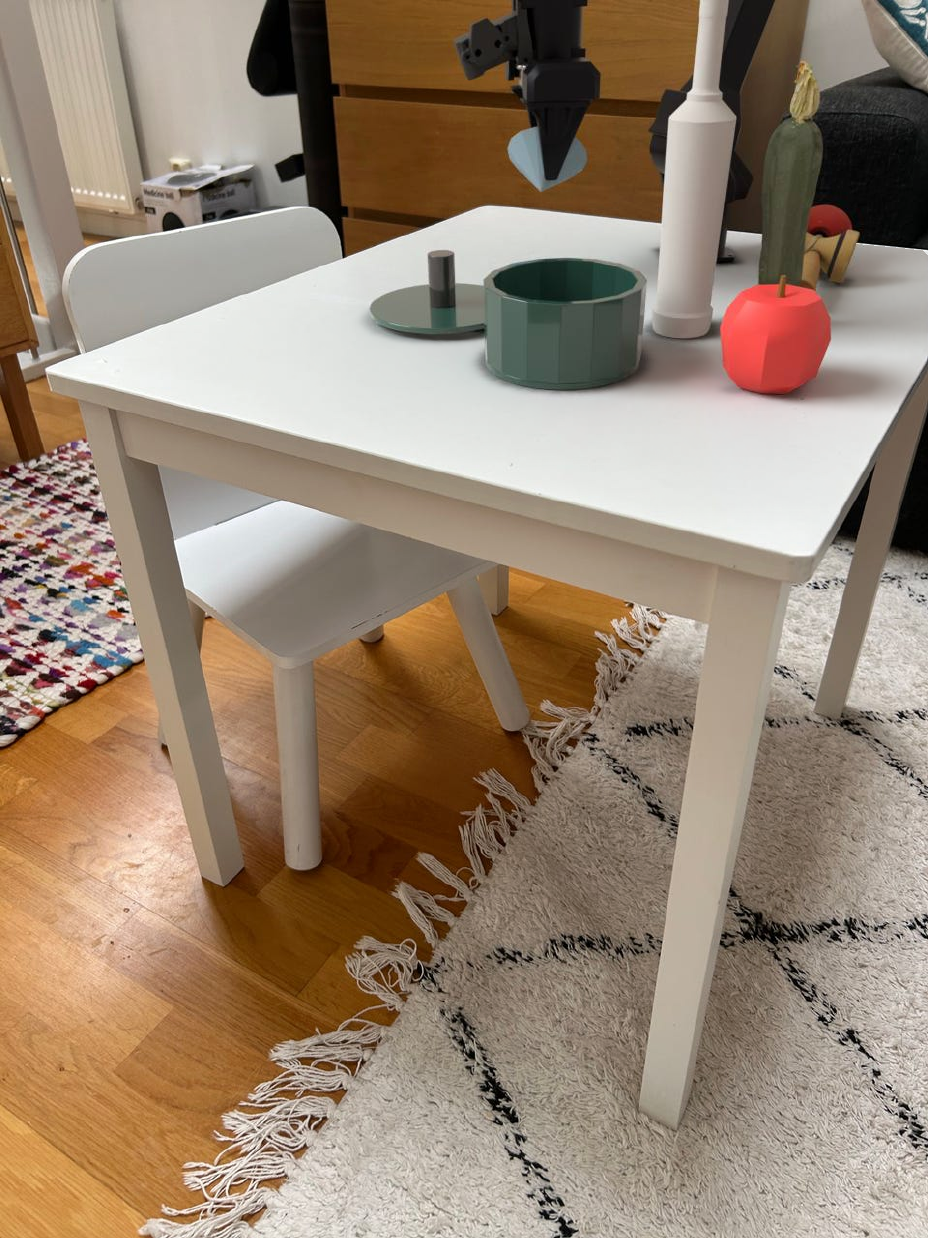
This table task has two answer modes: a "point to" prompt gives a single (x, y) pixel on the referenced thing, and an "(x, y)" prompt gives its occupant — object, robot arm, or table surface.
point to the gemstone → (529, 159)
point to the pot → (564, 322)
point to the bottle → (695, 189)
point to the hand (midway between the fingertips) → (546, 174)
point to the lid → (433, 302)
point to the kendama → (827, 245)
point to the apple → (774, 337)
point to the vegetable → (790, 185)
